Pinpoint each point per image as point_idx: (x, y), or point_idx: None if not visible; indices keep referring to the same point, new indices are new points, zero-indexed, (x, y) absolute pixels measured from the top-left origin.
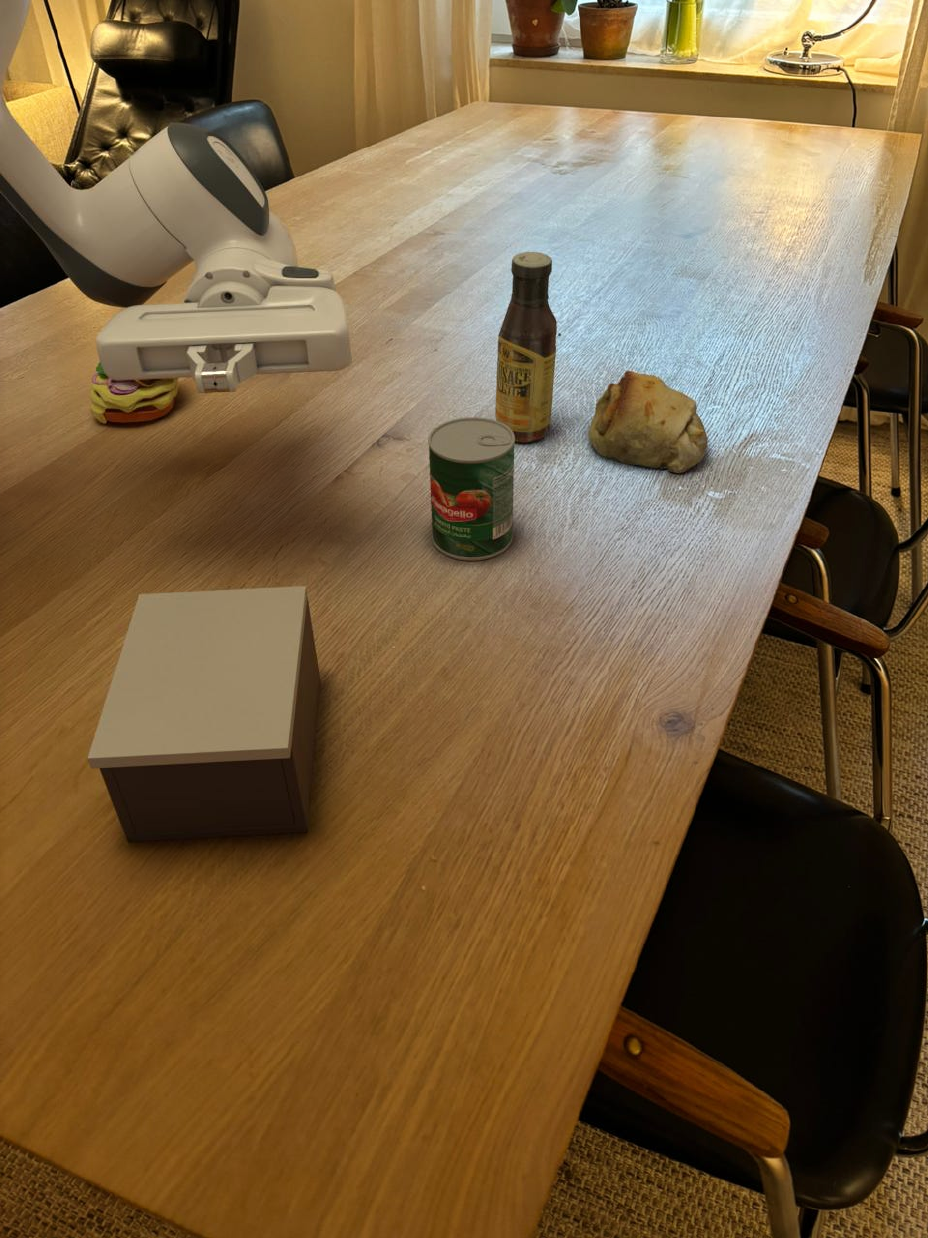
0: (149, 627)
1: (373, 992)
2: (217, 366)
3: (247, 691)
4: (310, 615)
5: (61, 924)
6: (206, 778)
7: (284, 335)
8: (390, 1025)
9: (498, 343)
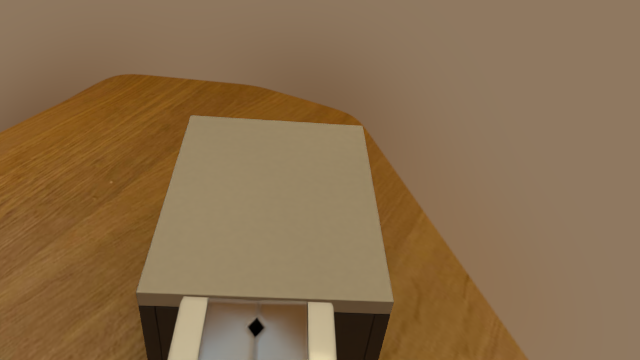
0: (356, 243)
1: (164, 138)
2: (246, 342)
3: (226, 159)
4: (142, 328)
5: (373, 187)
6: None
7: None
8: (158, 126)
9: None
